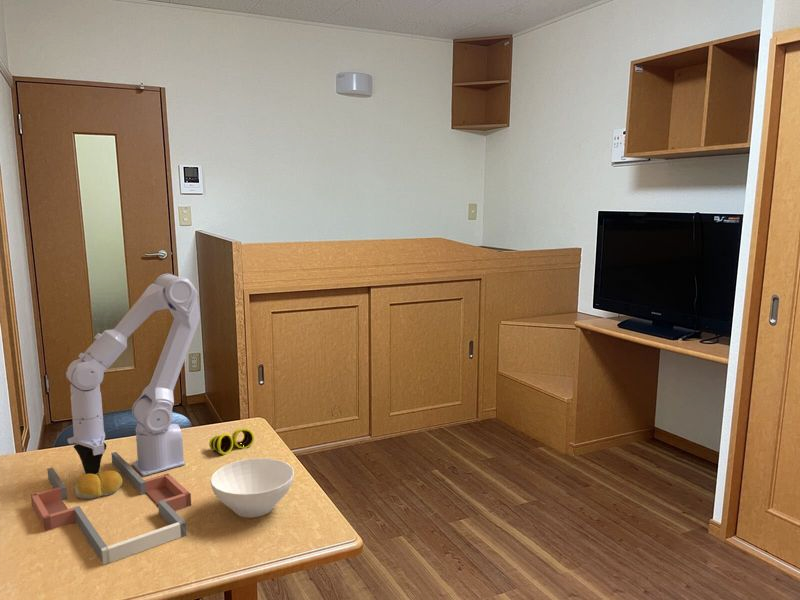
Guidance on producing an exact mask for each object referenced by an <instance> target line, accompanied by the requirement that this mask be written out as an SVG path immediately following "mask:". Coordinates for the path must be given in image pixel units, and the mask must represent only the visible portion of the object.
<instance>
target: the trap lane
mask: <svg viewBox="0 0 800 600" xmlns="http://www.w3.org/2000/svg"><path fill="white" fill-rule="evenodd" d="M111 463H112V465H113V466H114V467H115V468H116V469H117V470H118V471H119V472H120V473H121V475H122V476H123V477H124V478H125V479H126V480H127V481H128V482H129V483H130V484H131V485H132V486H133V488H135V489H136V491H138V493H140V495H141V496H142V495H146V494H147V496H148V497H150V499H151V500H152V501H153V502H154V503H155V504H156V505H157V506H158V514H159V516H161V518H162V519H163V520H165V522H166V523H167V524H168V525H166V526H163V527H160V528H157V529H154V530H151V531H149V532H148V531H147V532H145V533H143V534H140V535H137V536H133V537H131V538H128V539H126V540H121V541H119V542H116V543H114V544H110V545H108V546H107V544H106V542H105V541H104V540H103V538H102V537H101V536H100V534H99V533H98V531H97V530H96V528H95V527H94V525H93V524H92V522H91V521H90V519H89V518H88V516H86V514H85V512H84V510H83V509H81V506H80V505H78V506H74V507H70V508H68V507H67V506H66V504H65V502H64V500H67V499H68V495H67V494H68V493H67V486H66V485H65V483H64V482H63V481H62V479H61V478H60V476H59V475H58V473H57V472H56V470H55V469H54V467H48V468H46V469H47V480H48V482H49V483H50V484H51V486H52V488H51V489H47V490H43V491H39V492H36V493H32V494H30V499H31V506H32V508H33V511H34V513H35V514H36V517H37V518H38V520H39V523H41V526H42V528H43V530H44V531H45V532H48V531H51V530H53V529H56V528H60V527H64V526H67V525H70V523H71V524H74V523H76V525H77V526H78V528H79V530H80V531H81V532H82V535H83V536H84V538H85V539H86V540H87V542H88V544H89V545H90V547H91V549H92V550H93V551H94V553H95V554H96V556H97V557H98V560H99V561H100V562H101V563H102V565H103V566H105V565H108V564H110V563H114V562H115V561H116V562H117V561H118V560H121V559H125V558H127V557H130V556H133V555H136V554H138V553H141V552H143V551H146V550H149V549H152V548H155V547H157V546H158V547H159V546H161V545H164V544H165V543H168V542H172V541H174V540H177V539H180V538H183V537H185V536H187V523H186V521H185V520H184V518H182V517H181V516H180V515H179V514H178V513H177V512H176V511H179V510H182V509H185V508H187V507H192V494H191V493H190V492H189V491H188V490H187V489H186V488H185V487H184V486H183V485H181V483H179V482H178V481H177V480H176V479H175V478H174V477H173V476H172V475H171V474H170V473H165V474H161V475H157V476H155V477H150V478H148V479H143V478H142V477H141V476H140V474H138V472H137V471H135V468H134V467H133V466H131V465H130V464H129V463H128V462H127V461H125V459H124V458H123V457H122V456H121V455H120V454H119V453H118V452H117V451H113V452H111ZM73 522H74V523H73Z"/></svg>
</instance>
